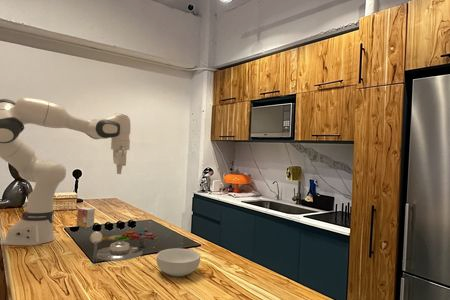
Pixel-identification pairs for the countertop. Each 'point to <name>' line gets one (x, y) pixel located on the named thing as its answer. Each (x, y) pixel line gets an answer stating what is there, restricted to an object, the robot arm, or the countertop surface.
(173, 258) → the cereal bowl
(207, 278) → the countertop surface
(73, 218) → the countertop surface
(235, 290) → the countertop surface
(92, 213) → the small box
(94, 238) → the lever with square base
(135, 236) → the gear puzzle
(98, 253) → the turntable
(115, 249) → the cover
